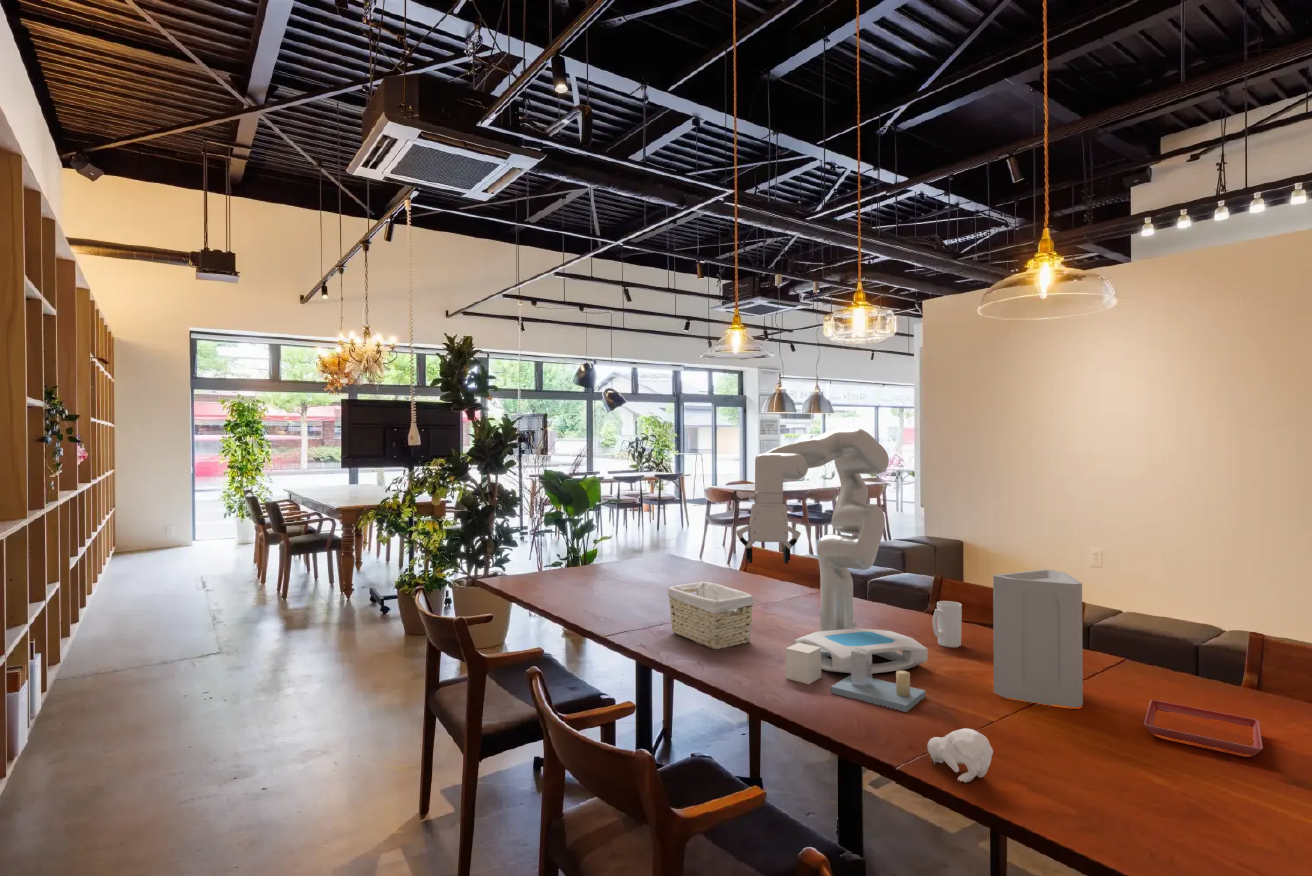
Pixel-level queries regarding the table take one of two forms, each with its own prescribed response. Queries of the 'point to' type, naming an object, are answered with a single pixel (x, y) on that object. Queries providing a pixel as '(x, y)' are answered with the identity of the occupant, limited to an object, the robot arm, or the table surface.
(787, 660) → the matte white cube
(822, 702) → the table surface
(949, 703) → the table surface
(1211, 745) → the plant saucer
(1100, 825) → the table surface
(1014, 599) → the grey triangular planter
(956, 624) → the mug
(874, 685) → the slate board
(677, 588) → the storage basket
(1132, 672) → the table surface
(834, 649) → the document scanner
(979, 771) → the white animal figure
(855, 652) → the steel post
